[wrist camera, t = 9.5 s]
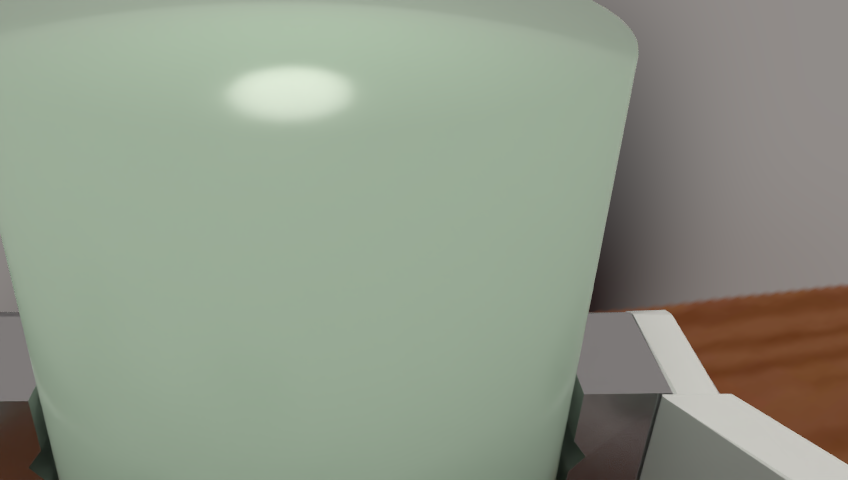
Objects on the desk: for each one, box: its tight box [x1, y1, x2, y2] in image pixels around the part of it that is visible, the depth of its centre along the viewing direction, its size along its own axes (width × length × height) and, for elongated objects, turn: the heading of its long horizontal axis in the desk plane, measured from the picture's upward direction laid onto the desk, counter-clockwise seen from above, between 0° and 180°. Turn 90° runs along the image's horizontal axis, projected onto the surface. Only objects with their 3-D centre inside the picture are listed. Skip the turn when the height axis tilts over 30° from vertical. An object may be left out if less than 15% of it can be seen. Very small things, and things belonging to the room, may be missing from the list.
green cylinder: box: [0, 0, 639, 480], centre depth 10 cm, size 6×6×11 cm
